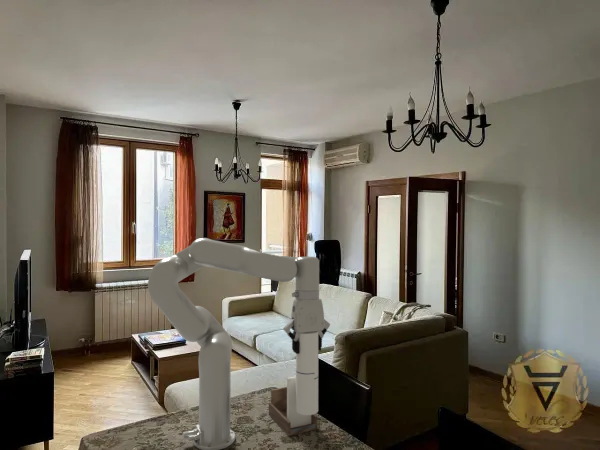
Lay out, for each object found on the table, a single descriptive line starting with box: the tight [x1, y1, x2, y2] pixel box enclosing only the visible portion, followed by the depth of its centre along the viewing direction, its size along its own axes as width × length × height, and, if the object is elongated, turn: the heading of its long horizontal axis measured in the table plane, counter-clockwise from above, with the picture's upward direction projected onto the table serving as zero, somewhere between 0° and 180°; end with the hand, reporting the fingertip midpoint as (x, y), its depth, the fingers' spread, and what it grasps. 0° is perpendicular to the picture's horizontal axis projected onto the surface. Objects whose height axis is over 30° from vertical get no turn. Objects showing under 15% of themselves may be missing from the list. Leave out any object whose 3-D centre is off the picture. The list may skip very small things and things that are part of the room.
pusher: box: [286, 375, 311, 428], centre depth 132 cm, size 8×1×16 cm, turn 116°
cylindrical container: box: [295, 331, 319, 415], centre depth 128 cm, size 7×7×25 cm
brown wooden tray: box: [268, 386, 319, 437], centre depth 136 cm, size 11×17×9 cm, turn 26°
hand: (307, 350), depth 128 cm, fingers closed on cylindrical container, 7 cm apart
